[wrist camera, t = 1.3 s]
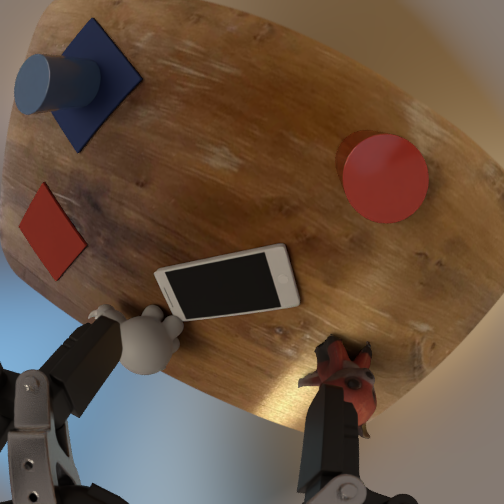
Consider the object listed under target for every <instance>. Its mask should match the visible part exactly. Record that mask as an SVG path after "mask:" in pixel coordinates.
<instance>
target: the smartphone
mask: <svg viewBox="0 0 504 504" xmlns="http://www.w3.org/2000/svg"><path fill="white" fill-rule="evenodd" d="M154 275H155V277H156V280H157V282H158V284H159V286H160V288H161V290H162V293H163V295H164V297H165V299H166V301H167V303H168V305H169V307H170V309H171V312H172V314H173V315H174V316H177V317H178V318H179V319H180V320H181V321H191V320H200V319H209V318H217V317H226V316H234V315H241V314H249V313H256V312H263V311H270V310H277V309H283V308H290V307H295V306H298V305H299V304H300V297H299V293H298V289H297V286H296V282H295V278H294V275H293V271H292V267H291V264H290V260H289V256H288V253H287V249H286V246H285V244H281V243H280V244H274V245H269V246H265V247H260V248H255V249H250V250H245V251H240V252H236V253H231V254H226V255H221V256H216V257H212V258H207V259H202V260H197V261H192V262H187V263H183V264H178V265H173V266H168V267H164V268H159V269H158V270H157V271H156V272H155V273H154Z"/></svg>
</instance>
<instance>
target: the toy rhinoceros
mask: <svg viewBox="0 0 504 504" xmlns="http://www.w3.org/2000/svg"><path fill="white" fill-rule="evenodd" d="M101 315H103V316H106V317H108V318H111V319H113V320H116V321H118V322H119V323H120V329H121V338H122V346H123V351H122V356H121V358H120V362H121V364H122V365H123V366H124V367H125V368H126V369H128V370H129V371H131V372H133V373H136V374H140V375H150V374H154V373H157V372H159V371H161V370H164V369H165V368H166V365H167V364H168V362H169V360H170V358H171V356H172V353H174V352H175V351H177V350H178V348H179V346H180V342H179V339H178V338H177V336H178V335H179V334H180V333H181V332H182V330H183V328H184V324H183V322H182V321H181V320H180V319H179V318H178V317H177V316H174V315H171V316H168V317H166V318H165V320H164V321H163V322H161V321H162V320H163V318H164V315H163V312H162V310H161V309H160V308H159V307H158V306H156V305H149V306H148V307H146V308H145V310H144V311H143V313H142V316H137V317H133V318H131V319H129V320H126V318H125V316H124V315H123V314H122V313H120V312H119V311H116V310H115V309H114V308H113V307H112V306H111V305H108V304H104V305H100V306H99V308H98V309H97V310H94V311H92V312H91V313H90V315H89V318H91V317H95V319H97V318H98V317H99V316H101ZM89 318H88V319H89Z"/></svg>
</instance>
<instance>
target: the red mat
mask: <svg viewBox="0 0 504 504" xmlns="http://www.w3.org/2000/svg"><path fill="white" fill-rule="evenodd" d="M19 228H20V230H21V231H22V233H23V234H24V236H25V237H26V239H27V241H28V242H29V244H30V245H31V247H32V248H33V250H34V251H35V253H36V254H37V256H38V257H39V259H40V260H41V261H42V263H43V264H44V266H45V267H46V268H47V270H48V271H49V273H50V274H51V275H52V277H53V278H54V279H55V281H57V280H58V279H59V278H60V276H61V275H62V274H63V273H64V272H65V270H66V269H67V268H68V267H69V266H70V264H71V263H72V262H73V261H74V260H75V259H76V257H77V256H78V255H79V254H80V253H81V252H82V251H83V249H84V248H85V247H86V246H87V244H86V242H85V241H84V239H83V238H82V237H81V235H80V234H79V233H78V231H77V230H76V228H75V227H74V226H73V224H72V223H71V221H70V220H69V218H68V217H67V215H66V214H65V213H64V211H63V210H62V208H61V207H60V205H59V204H58V202H57V201H56V199H55V197H54V196H53V194H52V193H51V191H50V190H49V188H48V187H47V185H46V183H45V182H43V183H42V185H41V186H40V188H39V190H38V192H37V193H36V195H35V197H34V199H33V200H32V202H31V204H30V206H29V208H28V209H27V211H26V213H25V215H24V217H23V219H22V221H21V223H20V225H19Z"/></svg>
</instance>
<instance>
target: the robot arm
mask: <svg viewBox="0 0 504 504" xmlns="http://www.w3.org/2000/svg"><path fill="white" fill-rule="evenodd" d="M122 351H123V346H122V338H121V329H120V323H119V322H118V321H116V320H113V319H111V318H108V317H106V316H103V315H101V316H99V317H98V318H97V319H96V320H95V322H94V323H93V324H90V323H86V324H84V325H82V326H80V327H78V328H77V329H76V330H75V331H74V332H73V333H72V334H71V335H70V336H69V338H68V339H66V340H65V341H64V343H63V345H61V346H60V347H59V348H58V349H57V350H56V351H55V352H54V353H53V355H52V356H51V357H50V358H49V359H48V360H47V361H46V362H45V364H44V365H43V366H42V367H41V368H40V369H39V370H27V371H25V372H23V373H22V374H19V373H15V372H12V371H9V370H6V369H3V367H2V365H1V363H0V452H1V450H2V449H3V447H4V446H5V444H6V442H7V441H8V462H9V475H10V484H11V493H12V500H9V501H5V502H0V504H129V503H128V502H126V501H125V500H124V499H122V498H121V497H120V496H118V495H115V494H114V493H111V492H110V491H108V490H106V489H104V488H101V487H100V486H98V485H96V484H94V483H92V485H91V486H90V487H88V486H82V485H81V483H80V479H79V475H78V472H77V469H76V467H75V464H74V461H73V456H72V451H71V444H70V437H69V430H68V421H67V418H68V417H69V415H70V414H73V415H75V416H76V417H78V418H80V416H81V415H82V414H83V412H84V411H85V409H86V408H87V406H88V404H89V403H90V402H91V401H92V399H93V397H94V396H95V395H96V393H97V392H98V390H99V389H100V388H101V386H102V385H103V383H104V382H105V380H106V379H107V378H108V376H109V375H110V373H111V372H112V371H113V369H114V368H115V366H116V365H117V364H118V362H119V361H120V358H121V356H122ZM358 435H359V433H358V414H357V411H356V409H355V407H354V405H353V403H352V402H346V401H344V390H343V387H341V386H335V385H330V384H325V383H323V384H322V385H321V387H320V389H319V391H318V392H317V394H316V396H315V398H314V399H313V401H312V403H311V405H310V407H309V409H308V412H307V416H306V422H305V431H304V440H303V450H302V458H301V465H300V473H299V480H298V487H297V492H298V493H305V499H304V502H303V503H302V504H418V503H417V501H416V500H415V499H414V498H413V497H412V496H410V495H407V494H399V495H396V496H394V497H392V498H390V497H387V496H384V495H381V494H378V493H376V492H373V491H371V490H369V489H368V488H367V487H365V485H364V483H363V482H362V481H361V479H360V476H359V438H358Z"/></svg>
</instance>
